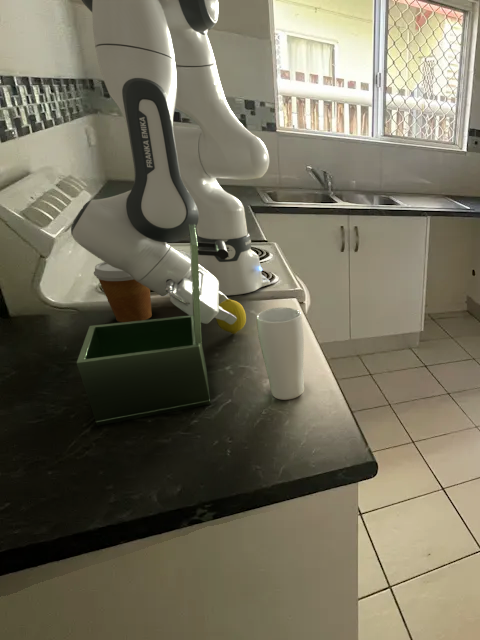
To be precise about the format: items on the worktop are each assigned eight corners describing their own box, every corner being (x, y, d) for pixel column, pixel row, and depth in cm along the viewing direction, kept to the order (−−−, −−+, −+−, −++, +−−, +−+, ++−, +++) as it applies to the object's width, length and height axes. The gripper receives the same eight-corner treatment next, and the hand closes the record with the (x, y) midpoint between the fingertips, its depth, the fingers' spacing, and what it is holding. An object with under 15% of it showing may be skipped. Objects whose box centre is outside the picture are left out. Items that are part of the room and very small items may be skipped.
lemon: (236, 341, 99) (230, 305, 96) (212, 336, 100) (206, 301, 97) (254, 331, 104) (249, 296, 101) (231, 326, 105) (226, 292, 102)
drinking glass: (299, 379, 88) (291, 304, 82) (315, 395, 84) (308, 317, 77) (260, 390, 83) (249, 312, 77) (275, 408, 79) (264, 326, 73)
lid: (191, 244, 68) (230, 247, 71) (188, 224, 78) (223, 226, 81) (195, 343, 73) (231, 342, 76) (192, 312, 84) (224, 312, 86)
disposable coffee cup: (104, 328, 99) (89, 273, 94) (109, 312, 106) (94, 260, 101) (160, 322, 104) (148, 269, 99) (161, 307, 111) (149, 257, 106)
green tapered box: (97, 426, 71) (76, 362, 66) (106, 383, 81) (89, 325, 76) (210, 404, 78) (198, 346, 74) (206, 367, 88) (195, 314, 84)
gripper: (177, 278, 84) (246, 322, 93) (184, 248, 100) (243, 288, 109) (151, 303, 84) (224, 346, 92) (162, 269, 100) (223, 308, 108)
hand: (234, 314), depth 101 cm, fingers closed on lemon, 5 cm apart
